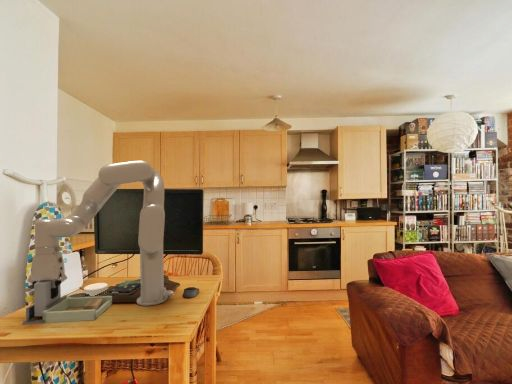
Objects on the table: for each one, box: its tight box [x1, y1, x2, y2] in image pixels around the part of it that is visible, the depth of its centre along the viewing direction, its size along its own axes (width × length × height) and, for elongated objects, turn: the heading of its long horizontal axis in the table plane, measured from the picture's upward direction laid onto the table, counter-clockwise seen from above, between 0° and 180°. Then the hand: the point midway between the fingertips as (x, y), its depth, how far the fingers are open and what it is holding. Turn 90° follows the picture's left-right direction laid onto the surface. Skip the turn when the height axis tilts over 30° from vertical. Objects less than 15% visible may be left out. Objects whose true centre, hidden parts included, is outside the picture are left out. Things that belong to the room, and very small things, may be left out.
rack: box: [42, 295, 113, 324], centre depth 109 cm, size 18×15×4 cm
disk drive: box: [108, 280, 140, 294], centre depth 135 cm, size 10×3×15 cm
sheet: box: [33, 277, 62, 317], centre depth 108 cm, size 4×9×12 cm, turn 5°
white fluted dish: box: [83, 282, 109, 297], centre depth 132 cm, size 10×10×4 cm
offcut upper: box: [83, 299, 103, 310], centre depth 109 cm, size 4×7×2 cm, turn 11°
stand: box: [21, 295, 68, 325], centre depth 108 cm, size 7×16×5 cm, turn 5°
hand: (48, 297), depth 108 cm, fingers closed on sheet, 4 cm apart
